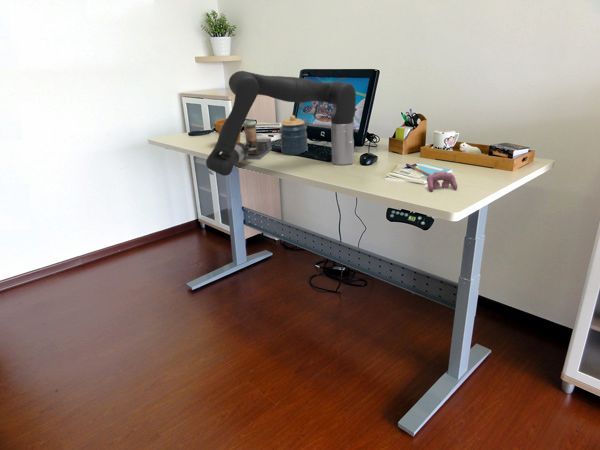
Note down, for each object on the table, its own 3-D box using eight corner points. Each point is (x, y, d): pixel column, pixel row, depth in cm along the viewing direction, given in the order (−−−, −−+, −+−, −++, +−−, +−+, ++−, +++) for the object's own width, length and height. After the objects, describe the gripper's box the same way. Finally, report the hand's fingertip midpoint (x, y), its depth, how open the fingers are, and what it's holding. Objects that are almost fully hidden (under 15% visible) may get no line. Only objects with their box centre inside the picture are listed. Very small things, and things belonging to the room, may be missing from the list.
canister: (313, 151, 201) (312, 114, 194) (295, 157, 193) (292, 118, 186) (294, 147, 210) (292, 112, 202) (275, 153, 201) (273, 116, 194)
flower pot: (247, 142, 226) (244, 118, 220) (241, 148, 213) (238, 123, 208) (222, 143, 227) (218, 119, 222) (214, 149, 215) (211, 124, 209)
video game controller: (453, 191, 146) (452, 171, 146) (458, 189, 141) (457, 169, 142) (426, 193, 146) (424, 173, 146) (430, 191, 141) (428, 171, 142)
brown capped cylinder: (260, 151, 198) (257, 120, 192) (256, 154, 193) (253, 123, 187) (249, 151, 200) (245, 120, 194) (244, 154, 194) (241, 123, 188)
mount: (271, 149, 208) (270, 138, 206) (260, 159, 192) (258, 147, 190) (253, 149, 210) (252, 138, 208) (240, 159, 195) (238, 147, 192)
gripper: (249, 144, 174) (262, 135, 189) (220, 144, 177) (235, 135, 192) (251, 162, 177) (264, 151, 192) (222, 161, 180) (237, 151, 195)
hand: (249, 143), depth 192 cm, fingers closed
